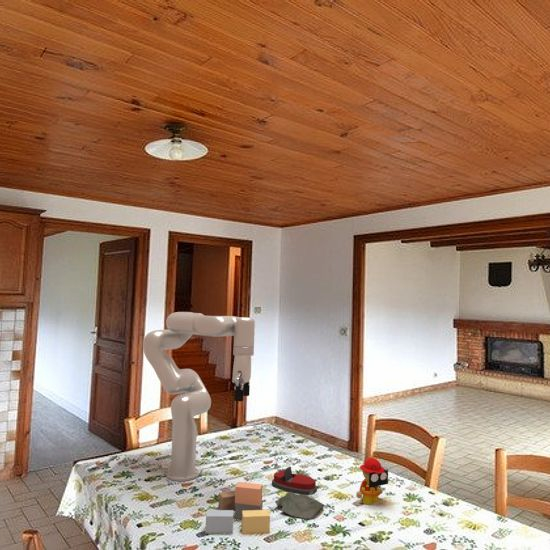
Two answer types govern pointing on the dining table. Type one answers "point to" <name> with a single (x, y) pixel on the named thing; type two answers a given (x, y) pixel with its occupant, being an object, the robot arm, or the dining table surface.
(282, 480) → the bumper car
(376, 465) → the toy
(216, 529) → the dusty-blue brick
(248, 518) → the ochre brick
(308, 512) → the artifact
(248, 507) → the charcoal brick
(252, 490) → the terracotta brick
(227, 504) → the walnut brick
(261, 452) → the dining table surface
